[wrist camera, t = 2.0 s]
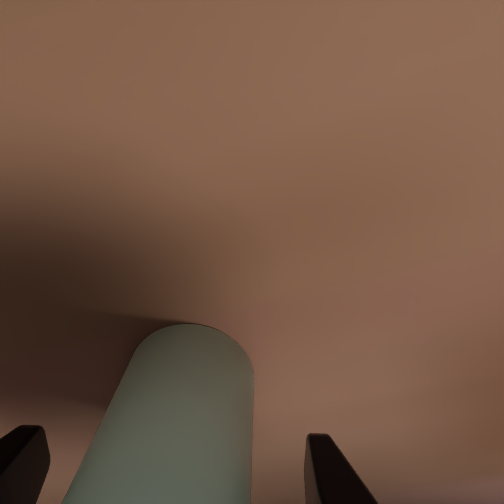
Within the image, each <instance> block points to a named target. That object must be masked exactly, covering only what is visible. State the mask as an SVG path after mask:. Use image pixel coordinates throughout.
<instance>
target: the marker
mask: <svg viewBox="0 0 504 504" xmlns="http://www.w3.org/2000/svg"><path fill="white" fill-rule="evenodd" d="M253 404H254V371H253V367H252V364H251V361H250V359H249V357H248V356H247V354H246V352H245V351H244V350H243V348H242V347H241V346H240V345H239V344H238V343H237V342H236V341H235V340H233V339H232V338H231V337H229V336H228V335H226V334H224V333H223V332H221V331H218V330H216V329H214V328H210V327H207V326H203V325H197V324H178V325H172V326H168V327H165V328H162V329H160V330H157V331H155V332H154V333H152V334H150V335H149V336H148V337H146V338H145V339H144V340H143V341H142V342H141V343H140V344H139V346H138V347H137V348H136V350H135V352H134V354H133V356H132V358H131V360H130V362H129V364H128V366H127V368H126V370H125V373H124V375H123V377H122V379H121V381H120V383H119V385H118V387H117V389H116V391H115V393H114V396H113V398H112V400H111V402H110V404H109V406H108V408H107V410H106V412H105V414H104V416H103V419H102V421H101V423H100V425H99V427H98V429H97V431H96V433H95V435H94V437H93V439H92V442H91V444H90V446H89V448H88V450H87V452H86V454H85V456H84V458H83V460H82V462H81V465H80V467H79V469H78V471H77V473H76V475H75V477H74V479H73V481H72V483H71V485H70V488H69V490H68V492H67V494H66V496H65V498H64V500H63V502H62V504H251V473H252V439H253Z"/></svg>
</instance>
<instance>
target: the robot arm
mask: <svg viewBox="0 0 504 504" xmlns="http://www.w3.org/2000/svg"><path fill="white" fill-rule="evenodd" d="M49 466H50V452H49V448H48V443H47V439H46V434H45V430H44V428H43V427H42V426H39V425H21V426H18V427H17V428H15V429H14V430H12V431H11V432H9V433H8V434H6V435H5V436H4V437H2V438H1V439H0V504H36V502H37V500H38V497H39V494H40V492H41V489H42V486H43V483H44V481H45V478H46V475H47V473H48V470H49ZM304 480H305V497H306V504H378V502H377V501H376V500H375V498H374V497H373V495H372V494H371V493H370V491H369V490H368V488H367V487H366V486H365V484H364V483H363V482H362V480H361V479H360V477H359V476H358V475H357V473H356V472H355V470H354V469H353V468H352V466H351V465H350V463H349V462H348V461H347V459H346V458H345V456H344V455H343V454H342V452H341V451H340V449H339V448H338V447H337V445H336V444H335V442H334V441H333V440H332V438H331V437H330V436H329V435H328V434H319V433H310V434H308V435H307V438H306V450H305V462H304Z"/></svg>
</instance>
